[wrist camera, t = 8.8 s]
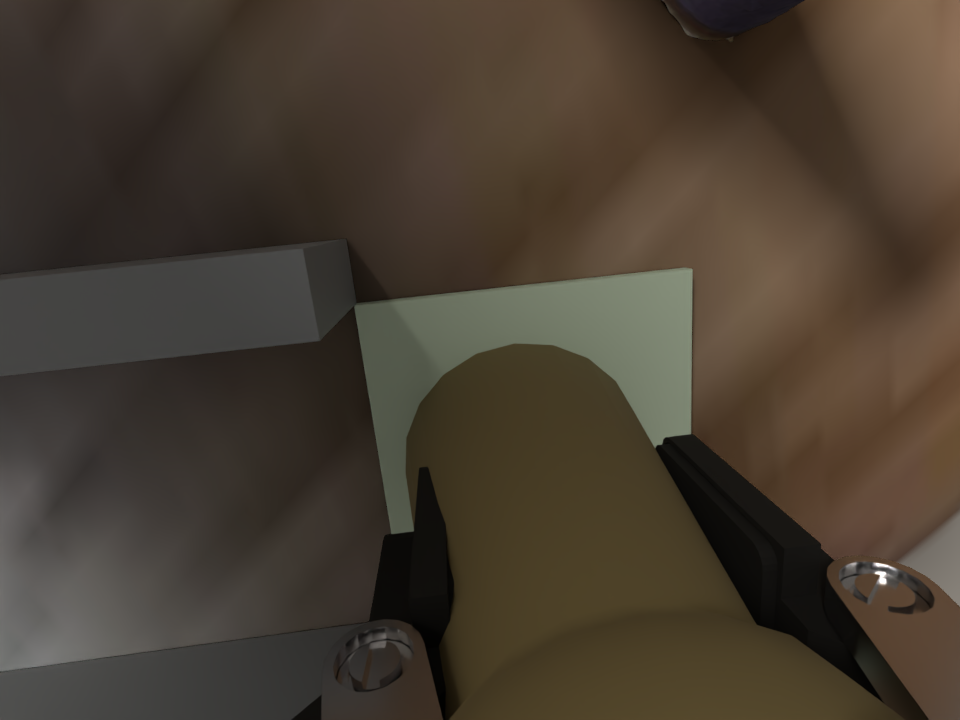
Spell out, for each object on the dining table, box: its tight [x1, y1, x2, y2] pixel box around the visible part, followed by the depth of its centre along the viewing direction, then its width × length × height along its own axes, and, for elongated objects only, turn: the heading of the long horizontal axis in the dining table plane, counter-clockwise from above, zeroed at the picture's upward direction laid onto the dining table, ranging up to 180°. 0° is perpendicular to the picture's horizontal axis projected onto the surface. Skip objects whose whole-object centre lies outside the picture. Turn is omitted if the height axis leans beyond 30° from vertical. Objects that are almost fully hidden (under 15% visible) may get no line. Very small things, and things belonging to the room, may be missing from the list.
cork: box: [406, 343, 905, 720], centre depth 8 cm, size 6×6×11 cm
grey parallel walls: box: [0, 239, 365, 720], centre depth 12 cm, size 12×14×4 cm
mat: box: [354, 268, 692, 534], centre depth 14 cm, size 11×8×1 cm
